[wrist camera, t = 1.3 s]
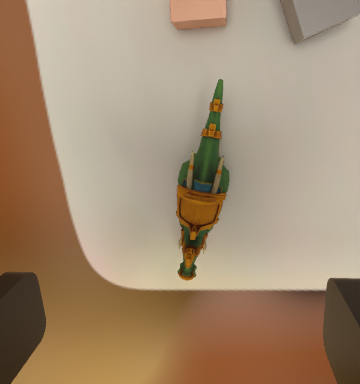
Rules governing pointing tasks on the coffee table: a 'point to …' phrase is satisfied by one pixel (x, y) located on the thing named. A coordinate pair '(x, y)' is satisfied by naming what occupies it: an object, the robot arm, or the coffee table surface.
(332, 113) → the coffee table surface
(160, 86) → the coffee table surface
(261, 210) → the coffee table surface
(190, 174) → the figurine
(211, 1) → the terracotta brick
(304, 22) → the slate-grey brick
